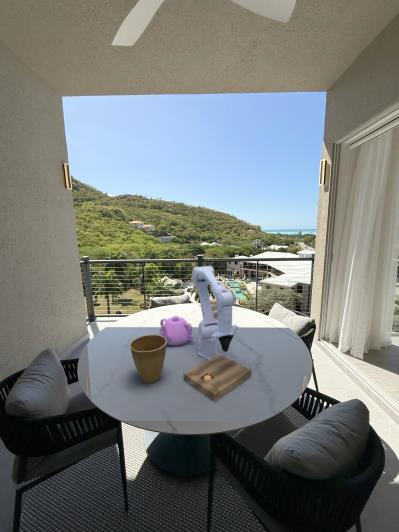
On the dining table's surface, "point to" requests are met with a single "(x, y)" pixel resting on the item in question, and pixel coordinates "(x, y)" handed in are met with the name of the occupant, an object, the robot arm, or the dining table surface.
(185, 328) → the teapot
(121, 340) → the dining table surface
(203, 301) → the robot arm
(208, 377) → the ball
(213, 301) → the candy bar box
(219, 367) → the brown wooden flat block
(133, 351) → the plant pot
